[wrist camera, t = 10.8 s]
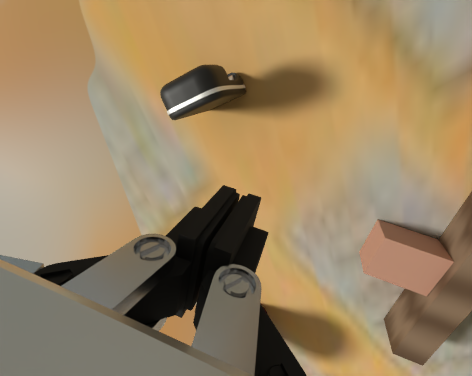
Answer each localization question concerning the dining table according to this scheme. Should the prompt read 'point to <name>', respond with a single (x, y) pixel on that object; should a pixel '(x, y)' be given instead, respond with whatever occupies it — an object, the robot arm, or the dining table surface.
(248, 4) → the dining table surface
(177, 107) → the battery charger
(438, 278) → the terracotta block
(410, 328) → the brown blocky bar
